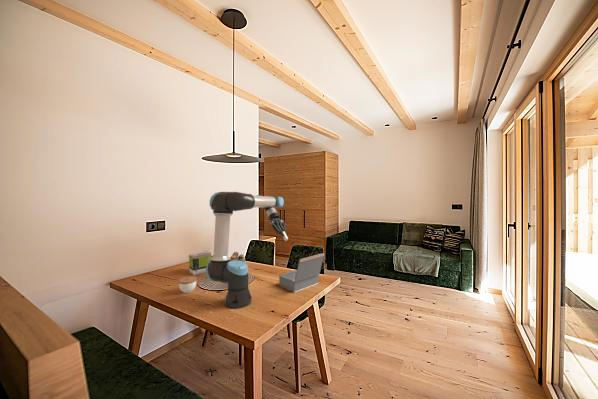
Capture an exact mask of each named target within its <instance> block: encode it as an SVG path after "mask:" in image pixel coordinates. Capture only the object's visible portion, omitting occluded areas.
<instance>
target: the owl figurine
mask: <svg viewBox="0 0 598 399" xmlns="http://www.w3.org/2000/svg"><path fill="white" fill-rule="evenodd" d="M229 258H230V261H234V260H236V261H243V262H245V263H246V258H245V254H242V253H240V254H239V252H238V251H234V252H233V253H232V255H231V256H230V257H229Z"/></svg>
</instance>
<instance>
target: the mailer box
mask: <svg viewBox="0 0 598 399" xmlns="http://www.w3.org/2000/svg"><path fill="white" fill-rule="evenodd" d="M296 273H297V270H293V271H290V272H285V273H283V274H280V275H279V277H278V281H279V283H278V284H279V285H278V286H280V287H282V288H284V289H286V290H289V291H290V292H293V293H297V292H301V291H302V290H306V289H308V288H310V287H311V288H312V287H313V286H315V285H318V284H319V280H320V279H319V275H320V274H318V275H315V276H312V277H309V278H307V279H304V280H301V281H298V282H295V277H296Z"/></svg>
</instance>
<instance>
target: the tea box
mask: <svg viewBox="0 0 598 399" xmlns="http://www.w3.org/2000/svg"><path fill="white" fill-rule="evenodd" d="M211 258H212V253H211V252H209V251H207V250H206V251H201V252H195V253H190V254H188V264H189V266H188V267H189V273H190V274H191V275H193V276H195V275H199V274H204V273H206V266H207V265H208V263H209V262H210V259H211Z"/></svg>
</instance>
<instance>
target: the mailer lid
mask: <svg viewBox="0 0 598 399" xmlns="http://www.w3.org/2000/svg"><path fill="white" fill-rule="evenodd" d="M324 258H325V253H324V252H322V253H318V254H315V255H311V256H307V257H303V258H299V260H298V264H297V273H296V277H295V282H298V281H301V280H304V279H307V278H309V277H312V276H315V275H318V274H319V275H320V274H321V269H322V265H323V261H324Z"/></svg>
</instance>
